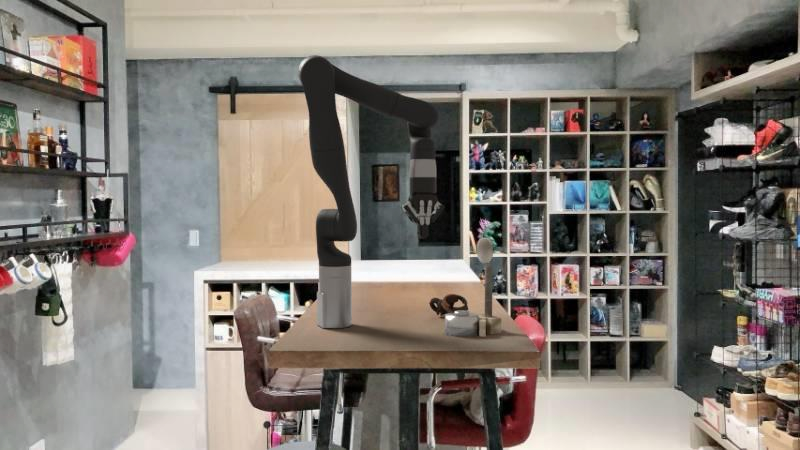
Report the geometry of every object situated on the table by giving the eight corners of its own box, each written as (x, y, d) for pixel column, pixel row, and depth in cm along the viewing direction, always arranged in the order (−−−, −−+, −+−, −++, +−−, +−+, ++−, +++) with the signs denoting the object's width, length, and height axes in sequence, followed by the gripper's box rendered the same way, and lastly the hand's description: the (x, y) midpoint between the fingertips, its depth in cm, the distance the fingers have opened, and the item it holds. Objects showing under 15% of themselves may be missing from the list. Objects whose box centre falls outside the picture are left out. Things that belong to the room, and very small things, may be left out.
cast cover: (453, 338, 165) (453, 315, 165) (439, 331, 174) (439, 309, 174) (484, 335, 169) (484, 313, 168) (468, 329, 177) (468, 307, 177)
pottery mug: (466, 316, 199) (472, 295, 195) (461, 335, 191) (467, 314, 187) (429, 306, 201) (434, 285, 197) (422, 324, 193) (427, 302, 189)
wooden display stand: (480, 336, 166) (481, 239, 165) (459, 328, 177) (459, 236, 177) (505, 334, 169) (505, 238, 168) (482, 326, 180) (482, 236, 179)
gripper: (406, 175, 172) (406, 239, 173) (450, 176, 177) (450, 238, 178) (395, 176, 179) (396, 238, 180) (438, 176, 184) (438, 237, 185)
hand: (423, 238), depth 179 cm, fingers closed
